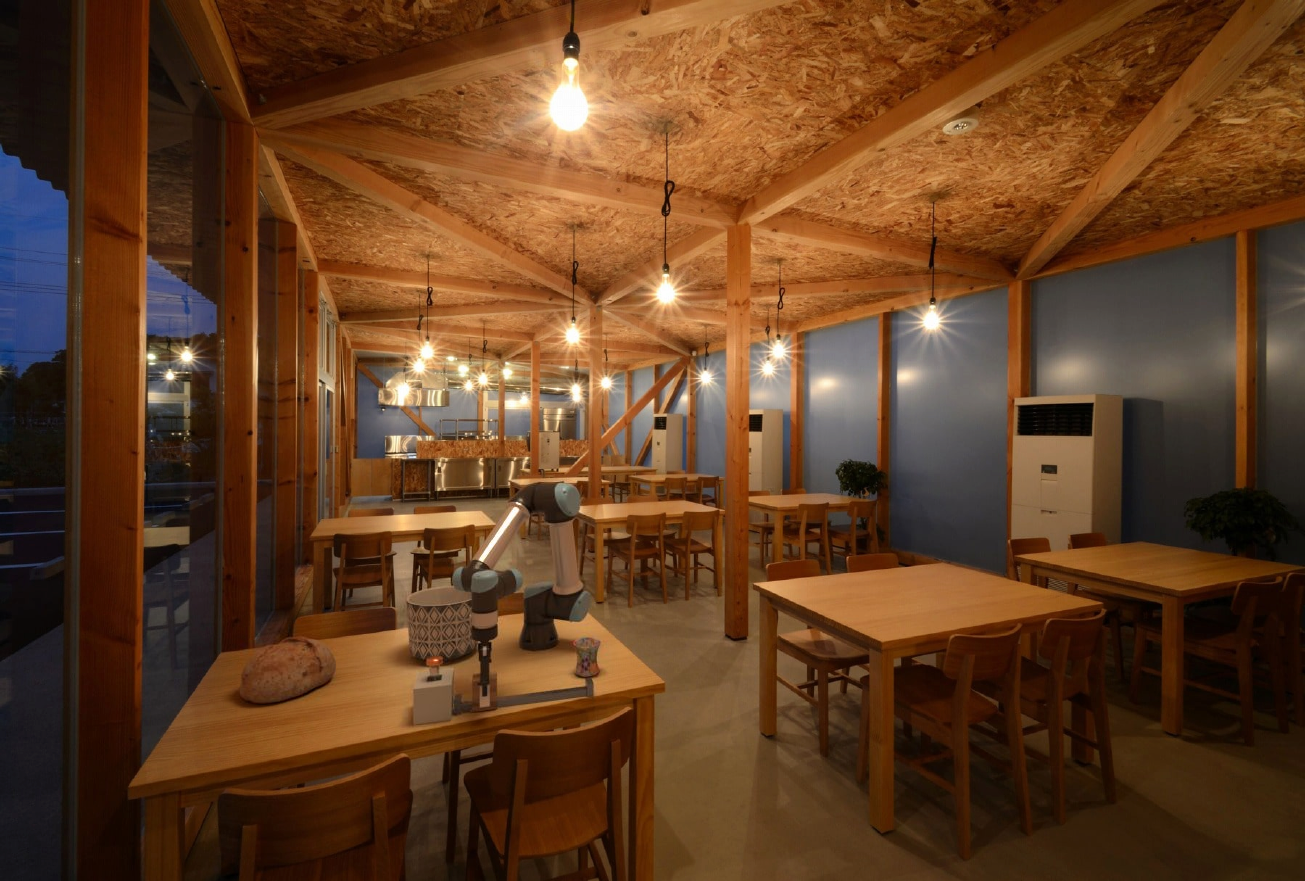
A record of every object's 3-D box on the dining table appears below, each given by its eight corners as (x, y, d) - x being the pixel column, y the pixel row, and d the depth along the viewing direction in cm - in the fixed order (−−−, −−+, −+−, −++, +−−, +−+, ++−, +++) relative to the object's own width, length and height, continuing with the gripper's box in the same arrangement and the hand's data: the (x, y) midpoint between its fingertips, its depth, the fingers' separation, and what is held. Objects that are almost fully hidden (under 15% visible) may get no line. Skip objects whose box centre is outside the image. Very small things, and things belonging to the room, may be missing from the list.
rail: (454, 708, 164) (454, 694, 164) (591, 690, 176) (591, 677, 176) (453, 714, 160) (453, 700, 160) (593, 696, 172) (593, 683, 172)
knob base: (418, 705, 166) (418, 671, 166) (453, 700, 169) (453, 668, 169) (413, 724, 155) (413, 689, 154) (451, 719, 157) (451, 684, 157)
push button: (427, 678, 163) (427, 656, 163) (443, 676, 164) (443, 655, 164) (425, 684, 159) (425, 662, 159) (442, 682, 160) (442, 660, 160)
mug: (603, 676, 186) (603, 645, 186) (576, 680, 183) (576, 648, 183) (595, 663, 197) (595, 633, 197) (569, 666, 194) (569, 636, 194)
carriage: (472, 704, 166) (472, 673, 166) (496, 700, 168) (496, 671, 168) (472, 711, 161) (472, 680, 161) (497, 708, 163) (497, 677, 163)
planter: (480, 638, 222) (480, 583, 222) (481, 663, 197) (481, 601, 197) (409, 645, 214) (409, 588, 214) (402, 672, 189) (402, 608, 189)
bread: (272, 712, 162) (272, 661, 161) (220, 699, 170) (220, 650, 170) (350, 676, 186) (350, 632, 186) (302, 666, 195) (302, 623, 194)
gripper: (472, 612, 176) (472, 679, 176) (470, 640, 152) (470, 717, 152) (497, 610, 178) (497, 676, 178) (498, 637, 154) (498, 713, 154)
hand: (484, 695), depth 165 cm, fingers open, 13 cm apart
